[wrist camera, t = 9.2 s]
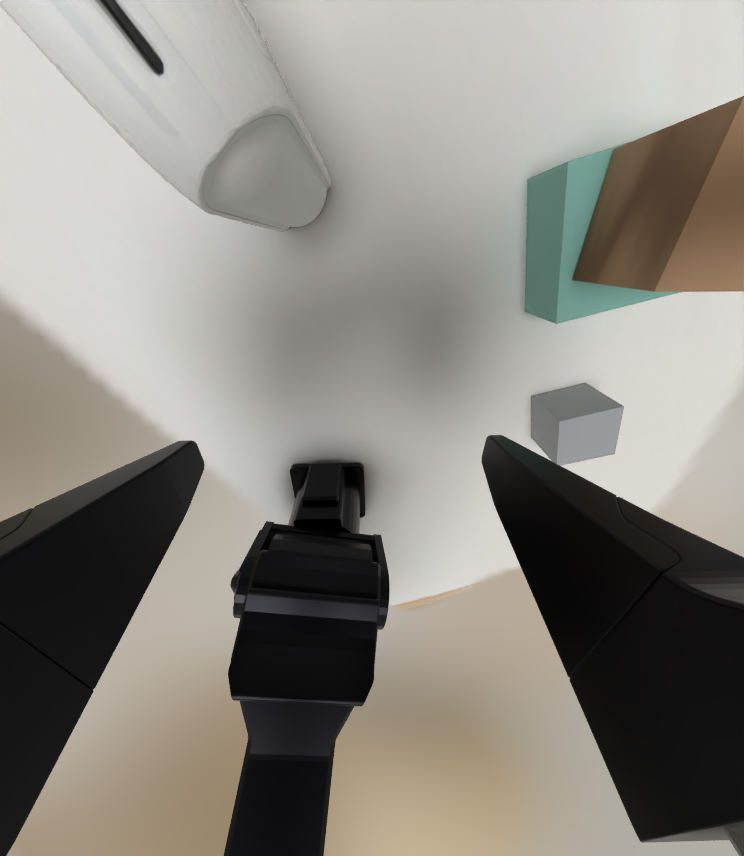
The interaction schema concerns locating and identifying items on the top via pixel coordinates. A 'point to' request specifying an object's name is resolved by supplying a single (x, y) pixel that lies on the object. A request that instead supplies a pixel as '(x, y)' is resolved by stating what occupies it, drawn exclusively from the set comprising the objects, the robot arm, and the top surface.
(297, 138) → the photo printer
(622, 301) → the teal base block
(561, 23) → the top surface
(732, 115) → the walnut cube
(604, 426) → the slate block
